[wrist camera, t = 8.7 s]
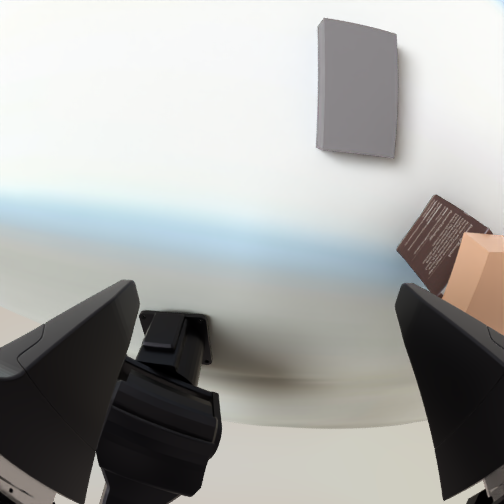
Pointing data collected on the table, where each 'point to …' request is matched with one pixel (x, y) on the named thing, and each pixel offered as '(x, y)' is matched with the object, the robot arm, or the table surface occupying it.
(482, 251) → the tile
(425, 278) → the box
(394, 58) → the block
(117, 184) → the table surface
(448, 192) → the table surface
